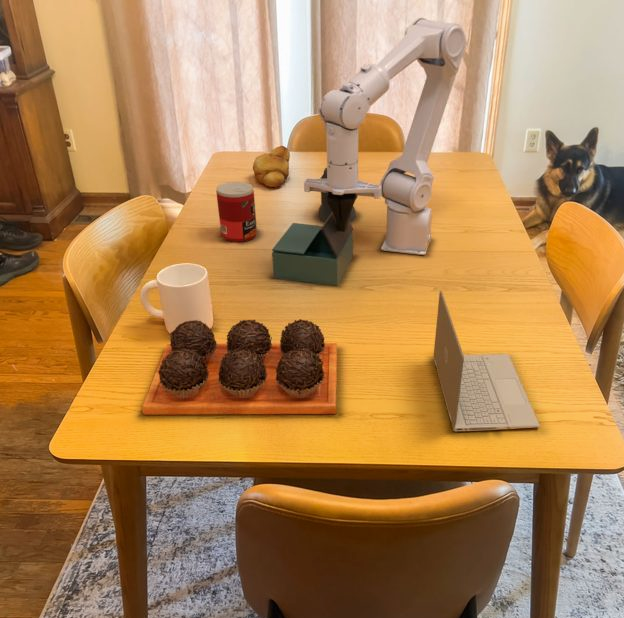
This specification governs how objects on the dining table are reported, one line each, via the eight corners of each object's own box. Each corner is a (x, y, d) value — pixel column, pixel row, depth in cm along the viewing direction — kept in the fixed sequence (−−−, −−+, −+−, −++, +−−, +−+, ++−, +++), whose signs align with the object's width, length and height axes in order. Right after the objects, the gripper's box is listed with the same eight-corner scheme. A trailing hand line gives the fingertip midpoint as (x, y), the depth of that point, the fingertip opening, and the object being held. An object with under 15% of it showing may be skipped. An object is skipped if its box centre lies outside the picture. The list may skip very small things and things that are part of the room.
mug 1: (138, 337, 114) (127, 284, 109) (153, 312, 121) (144, 261, 115) (207, 340, 114) (199, 287, 108) (219, 315, 120) (212, 264, 115)
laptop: (539, 430, 95) (556, 354, 88) (452, 433, 95) (461, 357, 87) (508, 357, 110) (520, 287, 103) (432, 359, 109) (438, 289, 102)
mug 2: (355, 224, 154) (356, 177, 147) (316, 223, 154) (314, 176, 148) (357, 204, 164) (357, 159, 157) (320, 204, 164) (319, 158, 158)
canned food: (251, 244, 145) (246, 195, 139) (215, 240, 146) (210, 192, 140) (261, 229, 151) (258, 182, 145) (228, 226, 153) (223, 180, 146)
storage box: (353, 256, 140) (353, 229, 137) (337, 285, 130) (337, 256, 126) (293, 250, 143) (292, 222, 139) (273, 278, 132) (271, 249, 129)
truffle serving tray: (336, 350, 111) (336, 307, 107) (336, 415, 98) (335, 368, 93) (167, 351, 111) (159, 307, 106) (143, 415, 97) (133, 368, 93)
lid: (352, 229, 137) (354, 229, 137) (336, 257, 126) (337, 256, 126) (338, 202, 134) (340, 201, 134) (321, 227, 124) (322, 227, 124)
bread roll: (288, 190, 171) (286, 159, 166) (250, 190, 171) (247, 159, 166) (291, 172, 182) (290, 143, 177) (255, 172, 181) (253, 143, 177)
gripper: (298, 164, 121) (300, 233, 128) (376, 171, 118) (374, 242, 125) (309, 152, 126) (311, 219, 134) (384, 158, 124) (382, 227, 131)
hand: (342, 229), depth 130 cm, fingers closed
